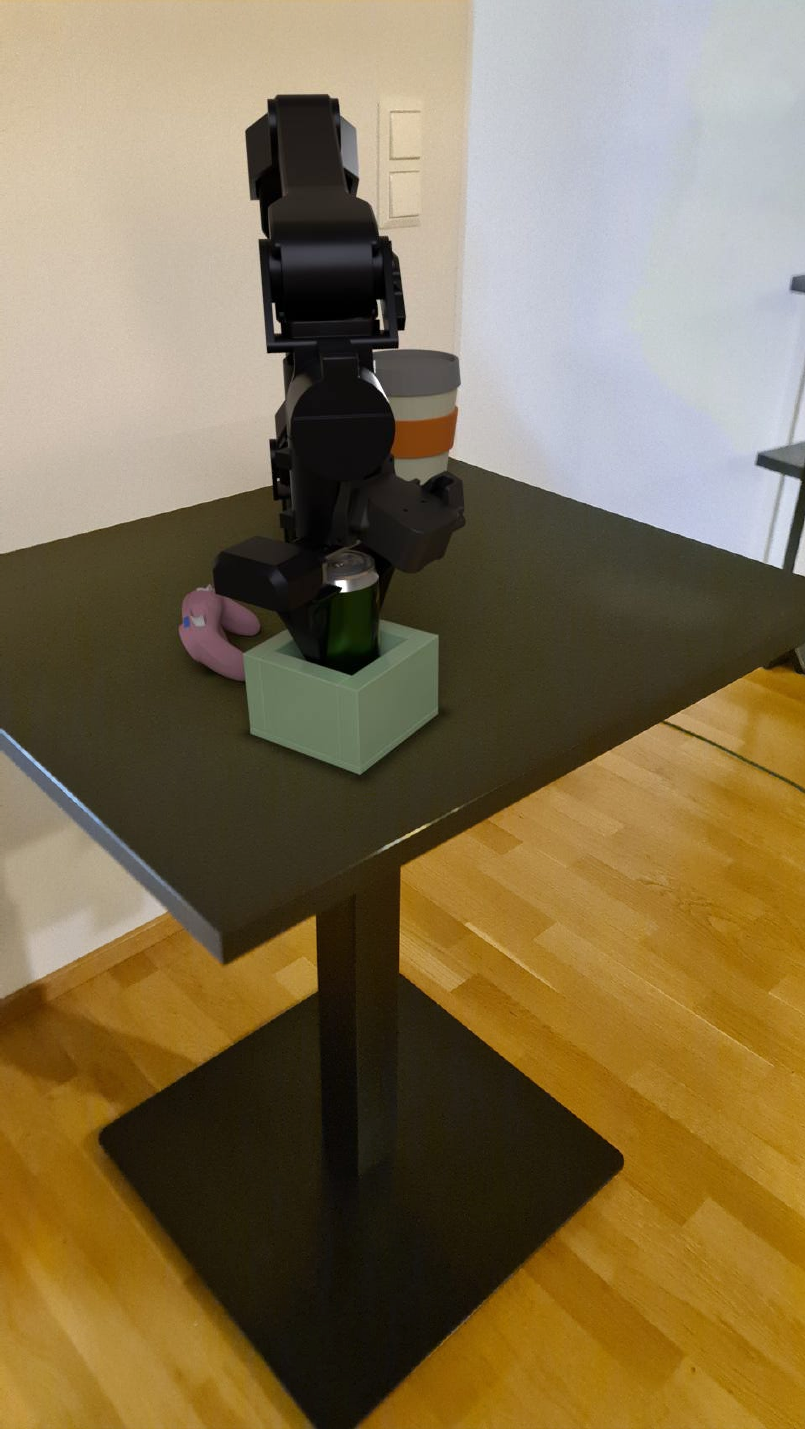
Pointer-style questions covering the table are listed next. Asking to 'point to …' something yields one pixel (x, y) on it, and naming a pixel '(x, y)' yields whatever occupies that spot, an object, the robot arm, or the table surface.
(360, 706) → the holder
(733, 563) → the table surface
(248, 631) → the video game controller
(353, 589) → the beer can
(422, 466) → the reusable coffee cup
